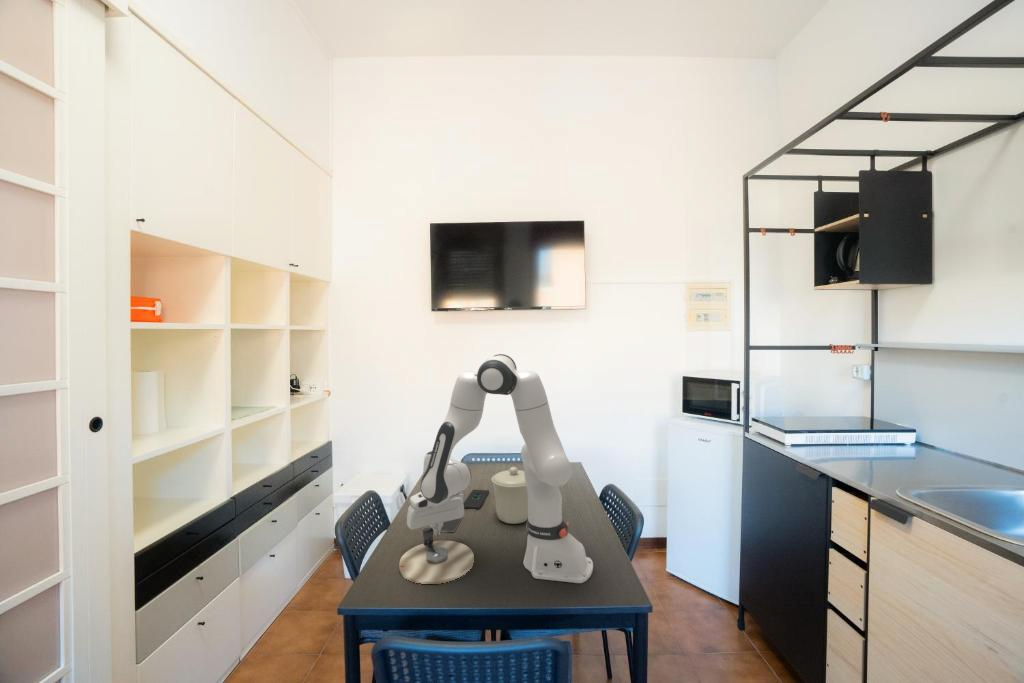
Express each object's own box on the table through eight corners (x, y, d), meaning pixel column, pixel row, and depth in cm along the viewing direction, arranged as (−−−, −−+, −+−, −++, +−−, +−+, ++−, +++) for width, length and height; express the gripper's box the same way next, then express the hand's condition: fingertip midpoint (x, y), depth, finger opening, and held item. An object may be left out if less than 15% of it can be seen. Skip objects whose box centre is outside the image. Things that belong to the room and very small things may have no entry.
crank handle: (451, 559, 135) (451, 542, 135) (430, 565, 131) (430, 548, 131) (436, 540, 147) (435, 525, 147) (416, 546, 144) (416, 530, 144)
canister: (532, 530, 158) (532, 475, 158) (486, 526, 162) (486, 473, 162) (538, 511, 176) (538, 461, 176) (497, 507, 180) (497, 459, 179)
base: (486, 552, 143) (486, 547, 143) (450, 592, 121) (449, 586, 121) (427, 539, 152) (426, 535, 152) (383, 574, 130) (383, 569, 130)
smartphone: (464, 513, 173) (453, 531, 157) (464, 516, 173) (453, 533, 157) (447, 512, 174) (435, 529, 158) (447, 515, 174) (435, 532, 158)
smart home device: (489, 490, 197) (479, 507, 177) (489, 493, 197) (479, 511, 177) (472, 489, 198) (460, 506, 179) (472, 492, 198) (461, 510, 179)
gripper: (460, 487, 153) (460, 524, 154) (405, 498, 143) (405, 538, 143) (467, 493, 148) (467, 531, 148) (410, 505, 138) (410, 546, 138)
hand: (436, 535), depth 146 cm, fingers closed
